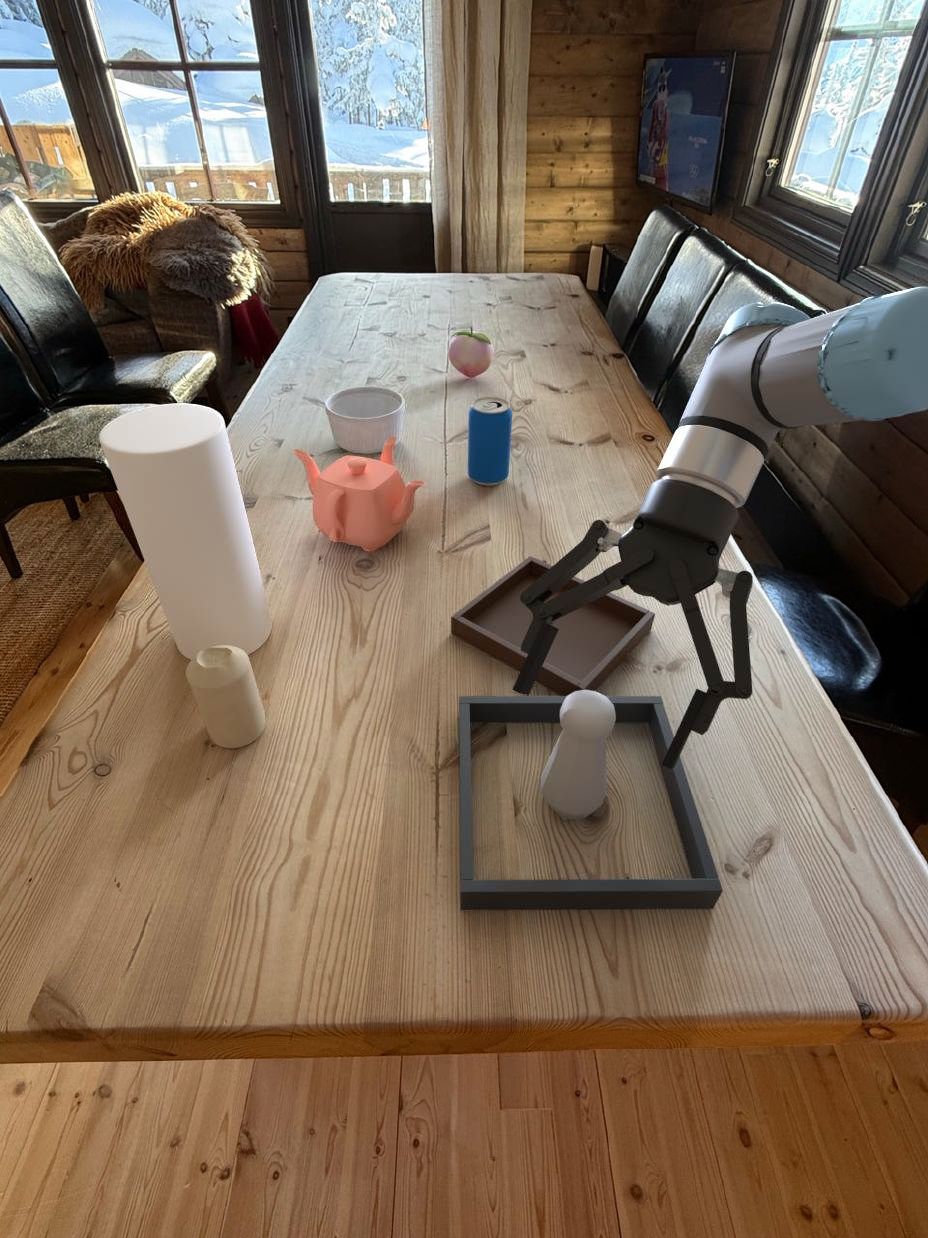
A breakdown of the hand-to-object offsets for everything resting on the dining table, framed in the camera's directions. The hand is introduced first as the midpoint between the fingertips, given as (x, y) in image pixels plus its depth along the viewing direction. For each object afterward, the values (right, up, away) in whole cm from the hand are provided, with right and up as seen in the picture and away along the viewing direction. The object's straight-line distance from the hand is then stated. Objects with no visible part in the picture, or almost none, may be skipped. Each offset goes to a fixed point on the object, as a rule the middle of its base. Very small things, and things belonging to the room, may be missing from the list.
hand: (590, 728), depth 55 cm
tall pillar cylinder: (-38, +8, +21) cm, 44 cm away
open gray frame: (-1, -7, +4) cm, 9 cm away
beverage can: (-7, +31, +49) cm, 59 cm away
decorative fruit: (-9, +59, +81) cm, 101 cm away
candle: (-33, -2, +11) cm, 35 cm away
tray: (0, +8, +22) cm, 23 cm away
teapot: (-24, +22, +38) cm, 50 cm away
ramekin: (-27, +40, +59) cm, 76 cm away
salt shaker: (-1, -7, +5) cm, 9 cm away
